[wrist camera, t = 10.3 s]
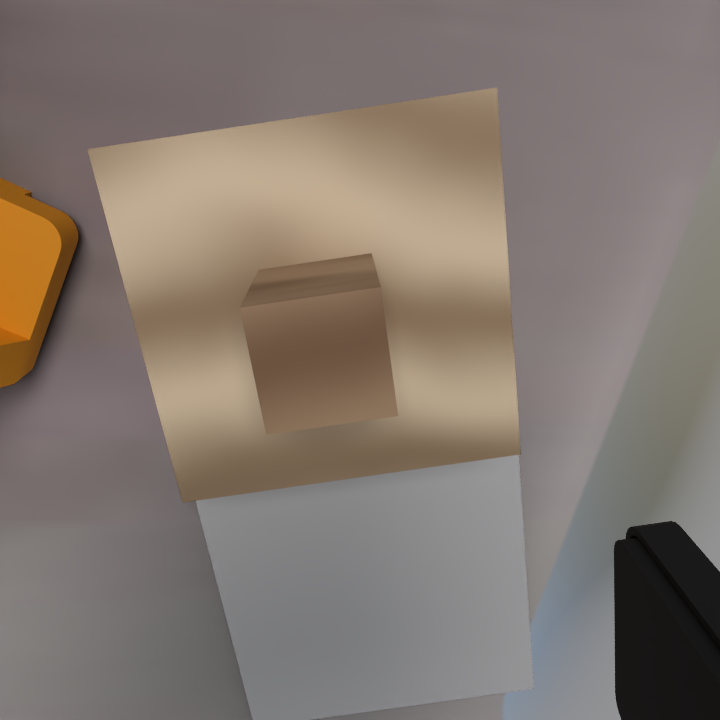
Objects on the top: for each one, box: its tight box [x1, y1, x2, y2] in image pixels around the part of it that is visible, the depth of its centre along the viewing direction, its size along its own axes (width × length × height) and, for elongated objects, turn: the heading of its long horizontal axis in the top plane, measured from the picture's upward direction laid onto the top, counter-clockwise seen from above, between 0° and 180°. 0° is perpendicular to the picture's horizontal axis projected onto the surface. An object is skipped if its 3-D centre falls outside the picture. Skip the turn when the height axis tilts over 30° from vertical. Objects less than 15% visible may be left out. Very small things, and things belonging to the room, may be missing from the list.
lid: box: [88, 88, 521, 502], centre depth 22 cm, size 14×14×6 cm
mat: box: [196, 455, 534, 720], centre depth 35 cm, size 16×16×1 cm
